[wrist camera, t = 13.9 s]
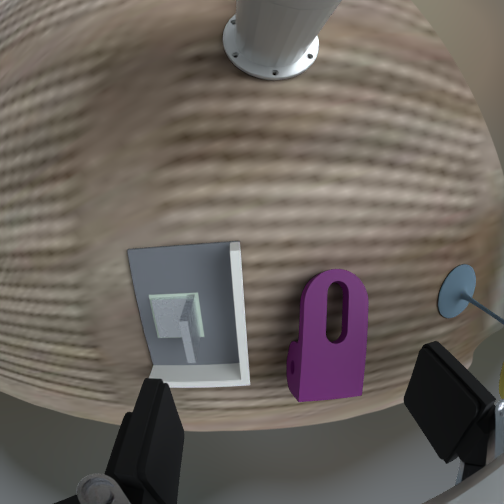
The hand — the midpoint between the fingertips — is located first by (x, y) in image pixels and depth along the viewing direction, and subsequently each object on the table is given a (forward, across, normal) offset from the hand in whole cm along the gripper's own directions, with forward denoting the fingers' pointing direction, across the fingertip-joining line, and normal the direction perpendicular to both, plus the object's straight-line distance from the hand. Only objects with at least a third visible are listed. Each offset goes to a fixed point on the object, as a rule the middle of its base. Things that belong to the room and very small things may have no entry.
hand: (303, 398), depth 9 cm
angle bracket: (+28, +11, +11) cm, 32 cm away
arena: (+28, +9, +11) cm, 32 cm away
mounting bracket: (+29, -10, +14) cm, 34 cm away
